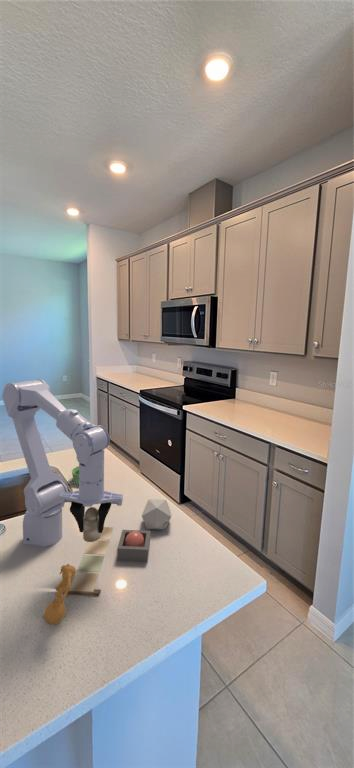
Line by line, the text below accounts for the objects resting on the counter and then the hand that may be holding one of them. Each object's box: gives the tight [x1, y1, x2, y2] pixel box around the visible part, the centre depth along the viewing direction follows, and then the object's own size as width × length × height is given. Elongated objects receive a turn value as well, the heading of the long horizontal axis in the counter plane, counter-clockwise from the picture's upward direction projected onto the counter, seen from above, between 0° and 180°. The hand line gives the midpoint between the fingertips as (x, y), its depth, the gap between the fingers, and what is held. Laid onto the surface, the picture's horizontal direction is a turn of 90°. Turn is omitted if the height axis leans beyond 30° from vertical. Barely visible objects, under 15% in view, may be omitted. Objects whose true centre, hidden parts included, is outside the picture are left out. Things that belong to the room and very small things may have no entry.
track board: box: [62, 526, 114, 597], centre depth 84 cm, size 8×24×1 cm, turn 0°
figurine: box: [43, 563, 77, 625], centre depth 65 cm, size 8×6×12 cm
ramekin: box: [71, 465, 79, 486], centre depth 124 cm, size 9×9×4 cm
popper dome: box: [125, 531, 145, 547], centre depth 85 cm, size 5×5×5 cm
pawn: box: [82, 506, 100, 543], centre depth 79 cm, size 4×4×8 cm
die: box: [141, 498, 172, 530], centre depth 97 cm, size 8×9×10 cm
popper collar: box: [116, 529, 151, 563], centre depth 86 cm, size 8×8×4 cm
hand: (91, 530), depth 80 cm, fingers closed on pawn, 4 cm apart
